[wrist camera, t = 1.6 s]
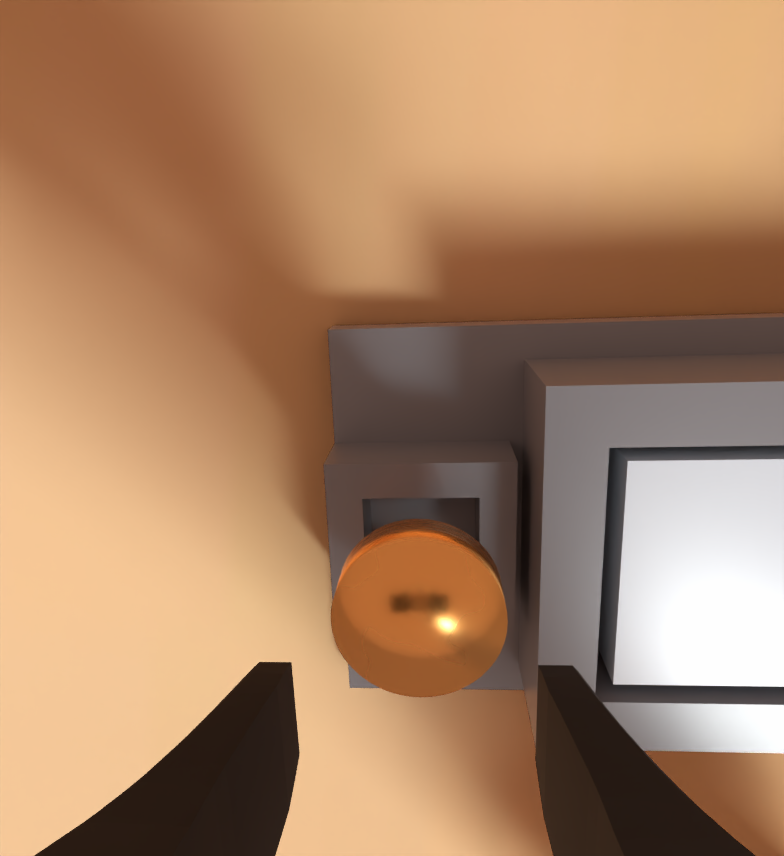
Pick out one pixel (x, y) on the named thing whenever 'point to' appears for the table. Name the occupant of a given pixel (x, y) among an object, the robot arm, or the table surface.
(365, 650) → the plunger
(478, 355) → the housing
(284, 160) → the table surface
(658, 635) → the cartridge
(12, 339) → the table surface
